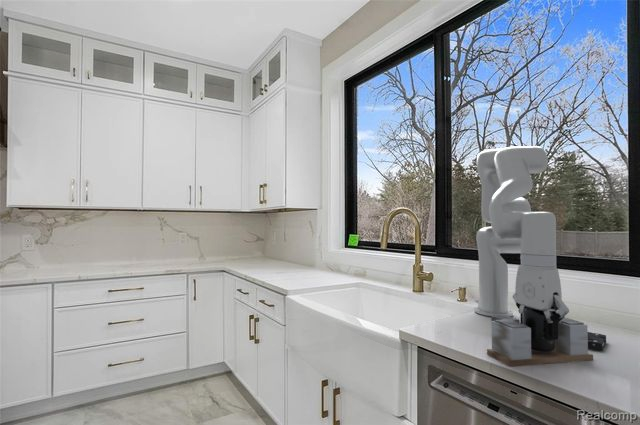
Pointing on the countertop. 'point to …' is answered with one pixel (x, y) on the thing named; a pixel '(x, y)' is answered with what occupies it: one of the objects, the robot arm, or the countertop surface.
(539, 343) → the supplement bottle
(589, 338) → the disk drive
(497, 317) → the block
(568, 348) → the rail
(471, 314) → the countertop surface
